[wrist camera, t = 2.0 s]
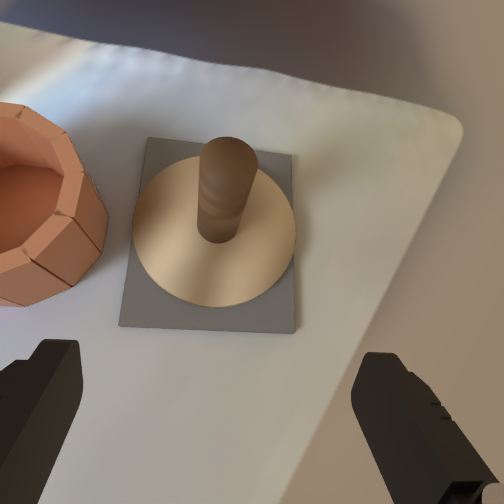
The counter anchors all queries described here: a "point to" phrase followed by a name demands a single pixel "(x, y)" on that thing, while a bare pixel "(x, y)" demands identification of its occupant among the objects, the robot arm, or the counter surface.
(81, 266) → the bowl
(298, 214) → the counter surface
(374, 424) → the robot arm
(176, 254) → the lid
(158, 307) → the mat
